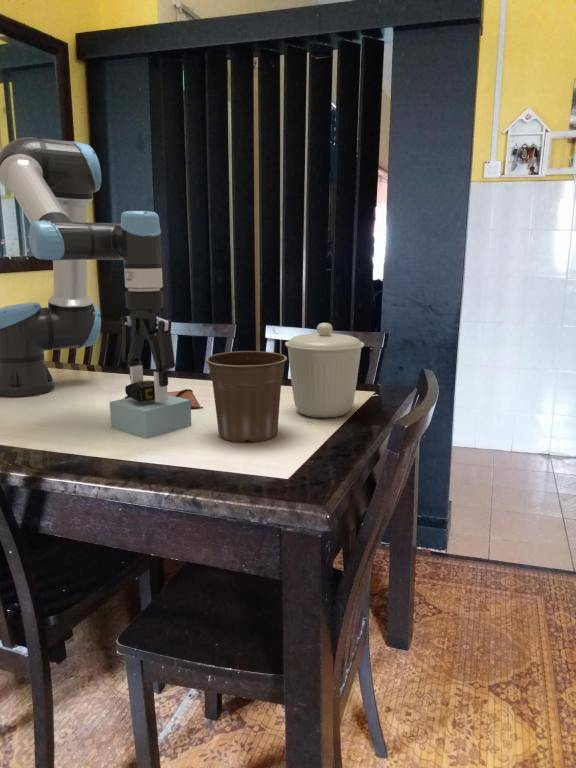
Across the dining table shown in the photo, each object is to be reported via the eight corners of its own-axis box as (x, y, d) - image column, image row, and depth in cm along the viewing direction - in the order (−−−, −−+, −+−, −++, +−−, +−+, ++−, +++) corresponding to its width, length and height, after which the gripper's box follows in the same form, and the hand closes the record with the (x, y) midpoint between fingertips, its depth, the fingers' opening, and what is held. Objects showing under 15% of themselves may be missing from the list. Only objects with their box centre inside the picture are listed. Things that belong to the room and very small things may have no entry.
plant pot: (257, 452, 112) (256, 367, 108) (191, 438, 120) (188, 359, 117) (301, 430, 125) (301, 355, 122) (239, 419, 134) (238, 348, 130)
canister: (335, 427, 127) (336, 329, 123) (269, 414, 138) (268, 323, 133) (376, 410, 141) (379, 322, 137) (313, 399, 152) (314, 317, 148)
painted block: (111, 429, 127) (109, 401, 126) (156, 417, 136) (154, 392, 135) (146, 439, 120) (145, 411, 119) (191, 426, 129) (190, 400, 128)
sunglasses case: (131, 417, 135) (126, 390, 136) (125, 426, 141) (120, 400, 142) (205, 407, 144) (199, 382, 145) (196, 416, 149) (191, 391, 151)
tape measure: (124, 399, 127) (123, 382, 126) (155, 395, 131) (154, 378, 130) (136, 406, 121) (135, 388, 121) (167, 401, 125) (166, 384, 124)
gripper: (99, 288, 125) (106, 394, 130) (161, 292, 113) (166, 409, 118) (129, 287, 131) (134, 388, 136) (191, 290, 118) (194, 402, 123)
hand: (149, 398), depth 127 cm, fingers closed on tape measure, 7 cm apart
